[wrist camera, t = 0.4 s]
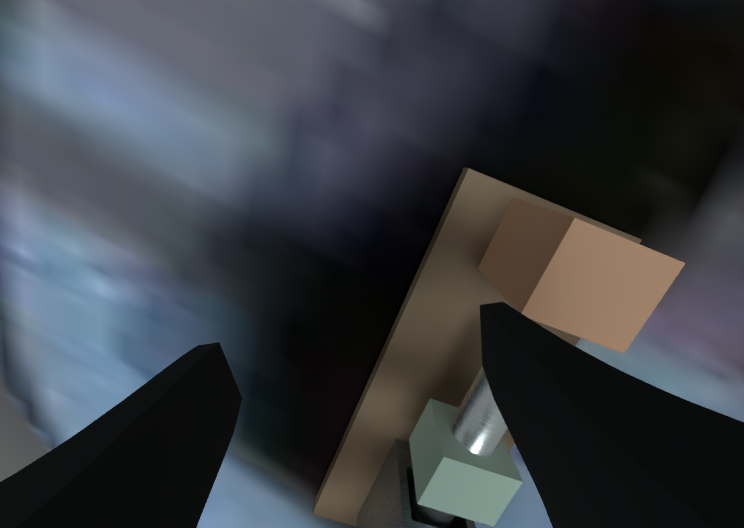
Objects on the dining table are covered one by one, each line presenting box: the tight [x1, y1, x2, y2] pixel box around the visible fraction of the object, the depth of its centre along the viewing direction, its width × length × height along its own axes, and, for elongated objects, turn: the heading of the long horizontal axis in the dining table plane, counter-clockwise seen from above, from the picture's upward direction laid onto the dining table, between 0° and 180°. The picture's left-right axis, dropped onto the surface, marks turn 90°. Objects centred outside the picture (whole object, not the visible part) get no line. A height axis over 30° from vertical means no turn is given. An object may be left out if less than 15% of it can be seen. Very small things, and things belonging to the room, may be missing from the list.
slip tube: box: [409, 366, 523, 528], centre depth 19 cm, size 16×4×4 cm, turn 159°
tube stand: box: [312, 168, 685, 528], centre depth 19 cm, size 24×10×7 cm, turn 159°
